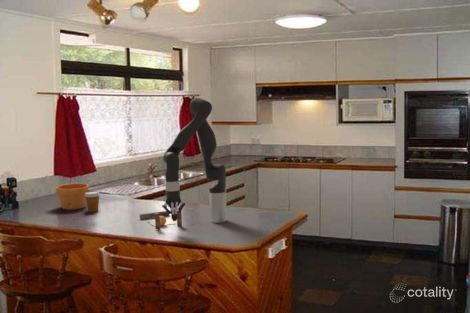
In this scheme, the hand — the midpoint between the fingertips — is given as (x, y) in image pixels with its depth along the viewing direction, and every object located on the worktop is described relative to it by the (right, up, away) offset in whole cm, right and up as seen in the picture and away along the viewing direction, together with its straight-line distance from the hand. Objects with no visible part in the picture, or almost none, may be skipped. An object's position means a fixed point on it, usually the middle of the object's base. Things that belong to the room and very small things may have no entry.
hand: (174, 220), depth 287 cm
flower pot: (-77, 0, +75) cm, 108 cm away
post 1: (-10, -6, +9) cm, 15 cm away
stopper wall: (-16, -3, +38) cm, 41 cm away
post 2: (+1, -5, +14) cm, 15 cm away
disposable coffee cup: (-60, -1, +63) cm, 87 cm away
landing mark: (-10, -4, +24) cm, 27 cm away
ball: (-10, -2, +17) cm, 20 cm away
